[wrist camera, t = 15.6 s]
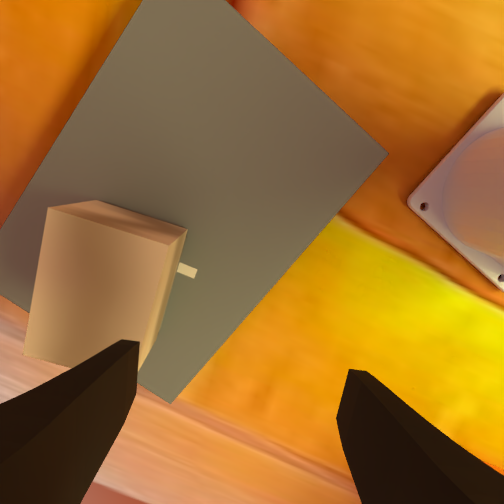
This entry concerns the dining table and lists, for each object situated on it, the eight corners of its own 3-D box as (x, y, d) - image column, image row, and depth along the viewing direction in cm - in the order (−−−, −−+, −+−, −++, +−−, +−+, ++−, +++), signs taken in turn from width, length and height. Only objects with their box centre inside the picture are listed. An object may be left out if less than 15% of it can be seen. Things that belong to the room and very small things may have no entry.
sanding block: (189, 227, 17) (169, 245, 13) (158, 335, 19) (131, 384, 14) (100, 199, 17) (47, 207, 12) (76, 312, 18) (22, 354, 14)
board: (377, 155, 18) (389, 153, 16) (175, 388, 21) (170, 404, 20) (180, -28, 15) (173, -49, 14) (-8, 268, 19) (-29, 275, 18)
